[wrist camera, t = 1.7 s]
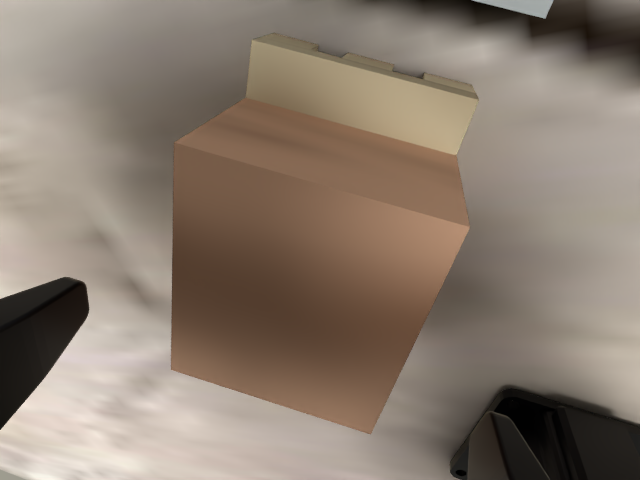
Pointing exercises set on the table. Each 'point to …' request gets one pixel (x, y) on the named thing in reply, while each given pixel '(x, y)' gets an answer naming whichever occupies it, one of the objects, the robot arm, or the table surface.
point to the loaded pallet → (316, 229)
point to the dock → (523, 6)
